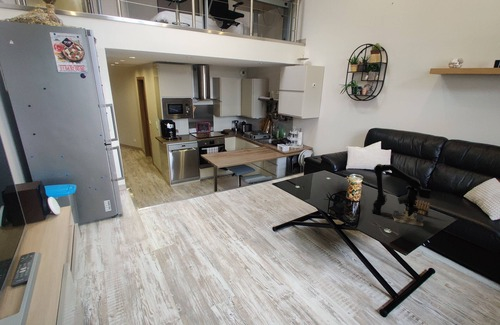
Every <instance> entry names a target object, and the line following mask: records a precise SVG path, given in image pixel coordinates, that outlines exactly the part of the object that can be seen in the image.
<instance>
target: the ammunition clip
mask: <svg viewBox="0 0 500 325" xmlns="http://www.w3.org/2000/svg"><path fill="white" fill-rule="evenodd" d="M414 206H417V208H418V209H419V211H418V212H414V214H415V215H417V214H420V215H422V216H423V217H425V218H428V217H429V212H430V211H429V210H430V202H428V201H426V202H425V201H424V200H420V199H418V198H417V200H416V205H414Z"/></svg>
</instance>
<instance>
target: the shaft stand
mask: <svg viewBox="0 0 500 325" xmlns="http://www.w3.org/2000/svg"><path fill="white" fill-rule="evenodd" d="M391 214H392V218H393V220H394V222H396V223H401V224H406V225H413V226H419V227H423V226H424V223H423V221H424V216H422V215H420V214H415V215H414V214H413V218H408V217H405V216H404V214H403V213H402V212H400V211H399V210H393V213H391Z"/></svg>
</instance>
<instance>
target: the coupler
mask: <svg viewBox="0 0 500 325" xmlns="http://www.w3.org/2000/svg"><path fill="white" fill-rule="evenodd" d="M402 214H404V216H405V217H408V218H413V217H414V214H415V213H413V214H412V215H411V216H410V217H409V216H408V210H407V208H406V207H405V208H404V209H403V213H402Z"/></svg>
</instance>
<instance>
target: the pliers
mask: <svg viewBox="0 0 500 325" xmlns="http://www.w3.org/2000/svg"><path fill="white" fill-rule="evenodd" d="M369 224H371V225H372V226H374V227H376V228H377V229H378V230H380V233H382V234H383V235H384V236H386V237H387V238H390V236H388V235H387V234H385V233H384V232H383V230H386V231H390V232H392V233H394V234H395V235H396V236H399V233H398V232H395V231H393V230H391V229H388V228H385V227H383V226H382V225H380V224H379V223H377V222H376V221H372V222H371V221H370V222H369ZM382 229H383V230H382Z"/></svg>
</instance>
